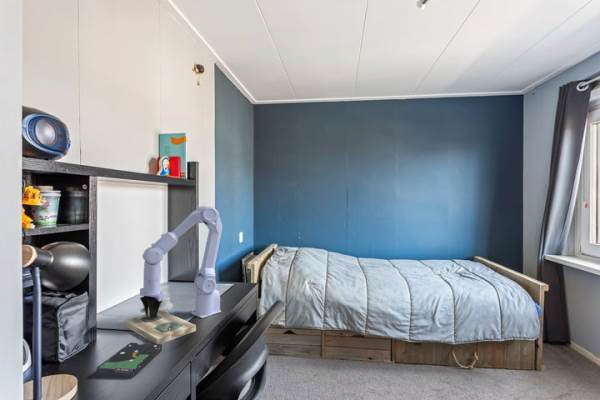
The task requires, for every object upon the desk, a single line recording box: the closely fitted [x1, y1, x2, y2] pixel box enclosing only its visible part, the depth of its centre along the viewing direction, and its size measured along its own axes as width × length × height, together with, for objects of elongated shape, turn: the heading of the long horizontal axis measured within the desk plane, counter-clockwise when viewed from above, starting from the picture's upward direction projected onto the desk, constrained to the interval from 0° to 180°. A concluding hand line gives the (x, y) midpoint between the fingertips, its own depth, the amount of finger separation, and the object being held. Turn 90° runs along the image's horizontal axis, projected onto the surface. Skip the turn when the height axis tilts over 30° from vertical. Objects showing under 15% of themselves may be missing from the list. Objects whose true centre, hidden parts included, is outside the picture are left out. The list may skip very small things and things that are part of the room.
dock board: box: [123, 310, 197, 345], centre depth 109 cm, size 14×24×2 cm, turn 53°
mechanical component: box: [158, 296, 174, 312], centre depth 130 cm, size 10×4×10 cm
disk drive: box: [95, 342, 163, 379], centre depth 86 cm, size 10×3×15 cm
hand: (151, 316), depth 113 cm, fingers closed on steel pin, 2 cm apart
